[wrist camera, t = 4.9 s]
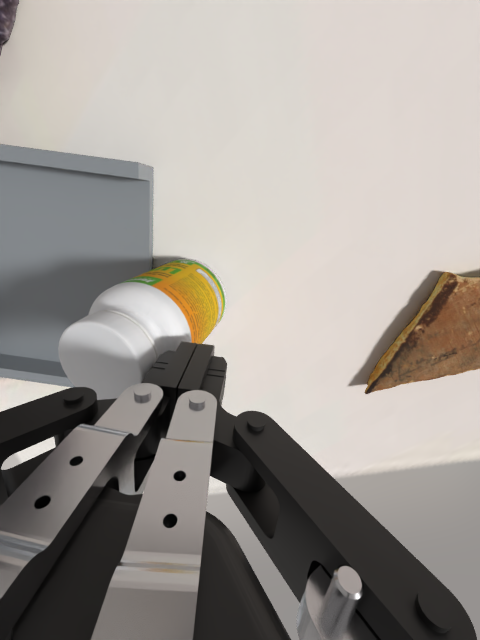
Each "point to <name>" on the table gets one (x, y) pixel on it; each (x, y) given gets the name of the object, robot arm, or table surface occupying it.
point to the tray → (64, 248)
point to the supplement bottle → (141, 325)
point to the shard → (435, 337)
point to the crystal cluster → (7, 19)
